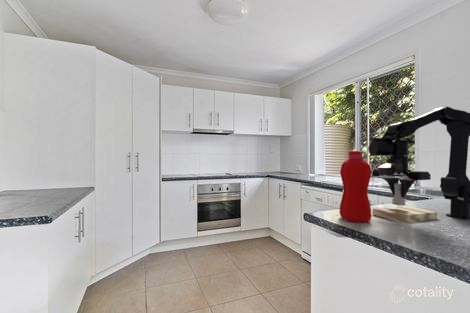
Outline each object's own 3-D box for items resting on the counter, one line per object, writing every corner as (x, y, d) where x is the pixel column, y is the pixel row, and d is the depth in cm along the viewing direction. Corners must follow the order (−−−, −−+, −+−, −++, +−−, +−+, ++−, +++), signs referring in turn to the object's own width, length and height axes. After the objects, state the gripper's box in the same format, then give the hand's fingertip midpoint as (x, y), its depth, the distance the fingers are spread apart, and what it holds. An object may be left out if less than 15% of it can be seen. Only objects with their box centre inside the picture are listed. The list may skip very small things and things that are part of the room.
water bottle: (379, 223, 81) (380, 150, 81) (347, 223, 82) (347, 150, 82) (366, 217, 90) (367, 151, 90) (337, 216, 91) (337, 151, 91)
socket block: (404, 211, 100) (404, 205, 100) (437, 218, 88) (437, 212, 88) (372, 214, 94) (372, 208, 94) (402, 222, 82) (402, 215, 82)
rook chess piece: (408, 205, 87) (408, 184, 87) (394, 205, 88) (394, 183, 88) (402, 203, 92) (402, 182, 92) (389, 203, 93) (389, 182, 93)
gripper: (362, 155, 96) (361, 194, 96) (409, 155, 79) (409, 202, 79) (382, 155, 100) (382, 192, 100) (431, 155, 82) (431, 200, 82)
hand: (398, 196), depth 90 cm, fingers closed on rook chess piece, 3 cm apart
